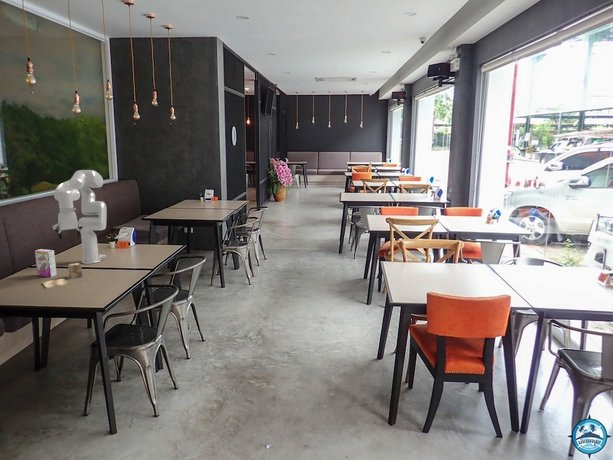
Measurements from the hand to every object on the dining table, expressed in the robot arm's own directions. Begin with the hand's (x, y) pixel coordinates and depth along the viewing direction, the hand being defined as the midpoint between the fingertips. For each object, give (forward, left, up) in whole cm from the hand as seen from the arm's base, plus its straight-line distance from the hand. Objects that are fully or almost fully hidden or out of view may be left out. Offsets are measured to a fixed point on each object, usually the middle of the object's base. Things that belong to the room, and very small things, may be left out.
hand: (69, 238), depth 291 cm
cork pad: (+12, +8, -25) cm, 29 cm away
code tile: (-1, +1, -25) cm, 25 cm away
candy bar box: (+12, -14, -25) cm, 31 cm away
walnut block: (-1, +1, -25) cm, 25 cm away
